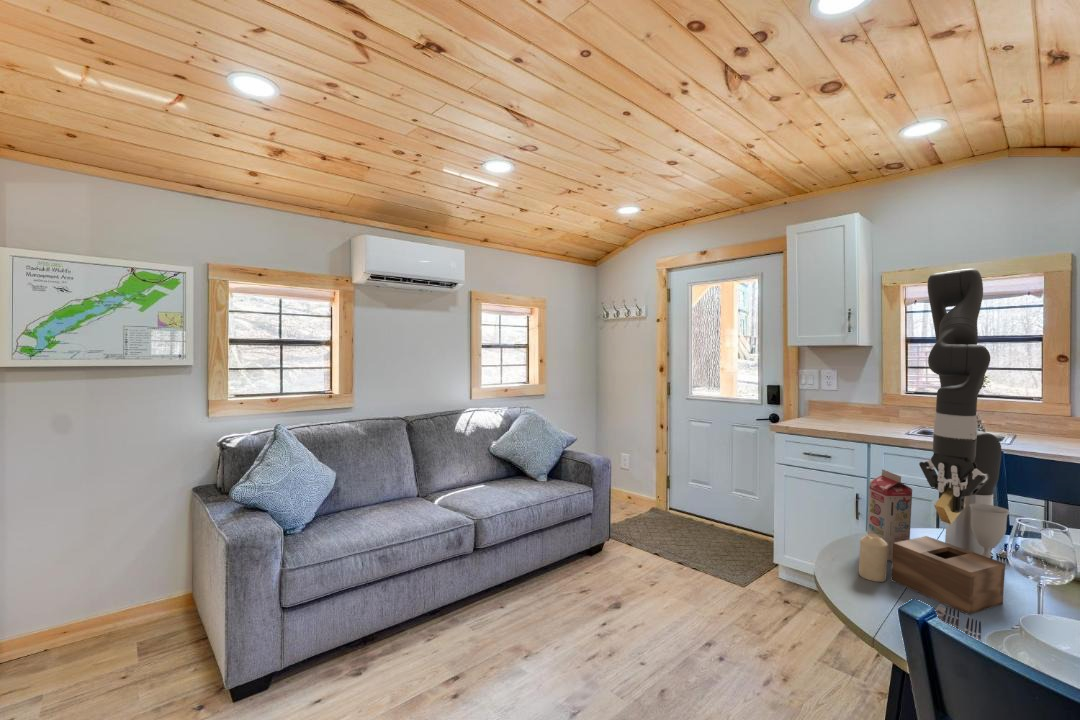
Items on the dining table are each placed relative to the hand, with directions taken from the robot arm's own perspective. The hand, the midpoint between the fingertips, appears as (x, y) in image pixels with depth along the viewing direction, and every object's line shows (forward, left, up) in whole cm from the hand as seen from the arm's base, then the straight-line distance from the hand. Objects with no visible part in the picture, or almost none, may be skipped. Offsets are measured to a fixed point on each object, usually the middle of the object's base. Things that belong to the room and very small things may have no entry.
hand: (950, 510), depth 116 cm
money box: (0, 0, -19) cm, 19 cm away
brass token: (+3, 0, -1) cm, 3 cm away
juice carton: (-7, -18, -19) cm, 27 cm away
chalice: (-13, +1, -19) cm, 23 cm away
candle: (+9, -11, -19) cm, 24 cm away
